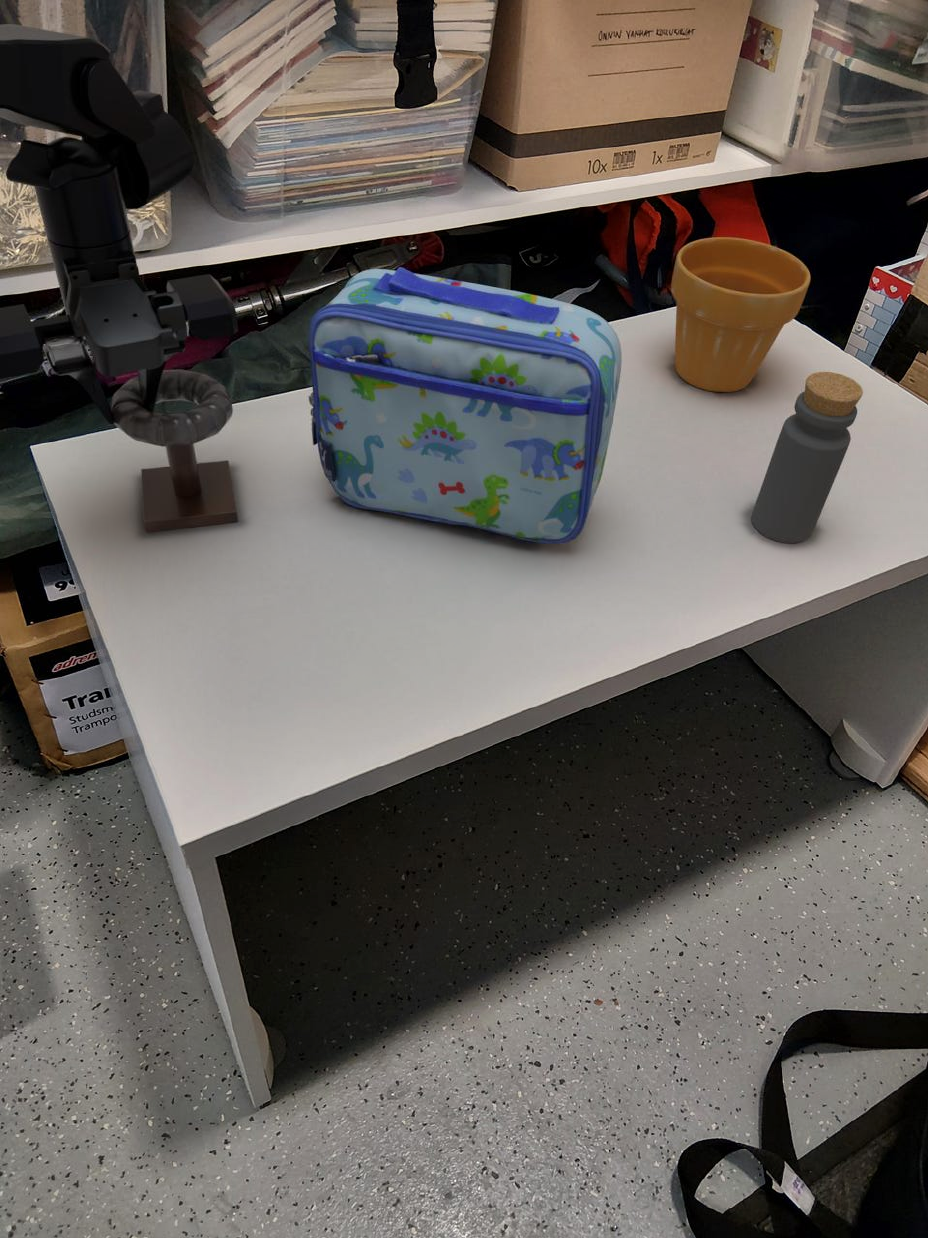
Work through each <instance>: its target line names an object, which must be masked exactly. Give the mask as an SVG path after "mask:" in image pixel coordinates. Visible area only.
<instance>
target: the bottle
mask: <svg viewBox="0 0 928 1238" xmlns="http://www.w3.org/2000/svg"><path fill="white" fill-rule="evenodd" d="M863 394H864V390H863V388H862V386H861V385H860V384H859V383H858V382H857V381H856V380H854V379H853V378H851V377H849V376H846V375H844V374H842V373H838V372H831V371H818V372H817V371H816V372H814V373H811V374H809V375H808V376H807V377H806V379H805V386H804V391H802V392H801V393H800V394H798V396H797V397H796V400H795V403H794V408H793V409H794V412H795V413H794V414H791V415H790V416H788V417H787V418H786V419H785V420H784V422H783V424H782V427H781V430H780V433H779V435H778V438H777V441H776V444H775V447H774V448H773V453H772V455H771V458H770V460H769V463H768V466H767V470H766V472H765V474H764V478H763V481H762V483H761V486H760V489H759V492H758V496H757V498H756V501H755V504H754V506H753V510H752V513H751V523H752V525H753V527H754V528H755V530H757V531H758V532H759V533H760V534H761V535H763V537H765V538H768V539H769V540H772V541H774V542H778V543H785V544H798V543H802V542H805V541H806V540H807V539H809V538H810V537H811V536H812V534H813V532H814V530H815V529H816V525H817V523H818V521H819V518H820V516H821V514H822V512H823V509H824V506H825V504H826V501H827V500H828V497H829V495H830V492H831V490H832V487H833V485H834V484H835V483H834V482H835V480H836V479H837V475H838V473H839V470H840V468H841V466H842V463H843V461H844V458H845V457H846V454H847V451H848V449H849V446H850V443H851V440H852V437H851V433H850V431H849V429H848V428H849V427H851V426H852V425H853V424H854V422H855V420H856V418H857V415H858V408H857V404H858V403H859V401H860V400H861V398H862V397H863Z"/></svg>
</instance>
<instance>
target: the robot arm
mask: <svg viewBox="0 0 928 1238" xmlns="http://www.w3.org/2000/svg"><path fill="white" fill-rule="evenodd" d="M110 57H111V52H110V50H109V48H108V47H107V46H106V45H105V44H104V43H103V42H101V41H99V40H97V39H95V38H93V37H86V36H82V35H77V34H71V33H65V32H60V31H54V30H48V29H44V28H37V27H32V26H27V25H22V24H21V25H20V24H16V23H15V24H14V23H3V24H0V118H1V119H3V120H6V121H9V122H12V123H15V124H19V125H23V126H28V127H33V128H38V129H43V130H47V131H52V132H57V133H62V134H67V135H71V136H77V137H81V139H79V138H75V137H70V136H63V137H59V138H56V139H54V140H51V141H49V142H46V143H43V142H39V141H36V140H35V141H34V140H30V139H22V140H21V142H20V146H19V150H18V152H16V155H15V156H14V157H12V159H11V160H10V162H9V163H8V166H7V168H6V171H5V176H6V179H7V180H8V181H9V182H12V183H16V184H21V185H25V186H30V187H33V188H34V192H35V196H36V199H37V200H36V201H37V203H38V206H39V207H38V208H39V212H40V215H41V219H42V220H41V221H42V222H43V226H44V231H45V236H46V239H47V243H48V248H49V251H50V255H51V260H52V263H53V267H54V270H55V275H56V279H57V282H58V286H59V290H60V295H61V299H62V303H63V306H64V310H65V314H66V315H60V316H54V317H48V318H42V319H36V320H31V317H30V315H29V313H28V311H27V308H26V306H25V304H24V303H22V304H16V305H10V306H4V307H0V380H3V379H8V378H13V377H19V376H24V375H30V374H35V373H37V372H38V370H40V368H41V367H42V365H43V364H44V362H45V358H46V359H47V362H48V364H49V366H50V369H51V371H52V373H53V374H54V375H55V376H60V377H61V376H62V377H63V376H67V375H68V376H69V377H71V378H74V379H75V380H76V382H77V383H78V384H79V385H80V386H81V387H82V388H83V389H84V390H85V392H86V393H87V394H88V395H89V397H90V399H91V400H92V402H93V403H94V405H95V406H96V407H97V409H98V411H99V412H100V413H101V415H102V416H103V418H104V420H105V421H106V422H107V424H108V425H109V426H113V425H115V423H114V420H113V415H112V407H111V406H110V403H109V401H108V399H107V396H106V394H105V391H104V389H103V386H102V383H101V381H100V379H99V376H98V373H97V371H98V372H99V374H101V375H103V376H104V377H109V378H114V377H120V376H122V375H123V374H125V373H131V372H137V377H138V380H139V388H140V394H141V398H142V402H143V406H144V408H145V409H146V410H147V411H151V412H155V407H156V404H155V403H156V398H157V393H158V389H159V383H160V379H161V376H162V373H163V370H165V367H166V364H167V362H168V361H169V360H170V359H171V358H172V357H174V356H175V355H176V354H177V355H178V354H182V353H184V352H185V350H186V343H185V341H186V340H187V338H188V331H189V333H190V334H191V335H193V336H194V337H196V338H197V339H198V340H200V341H202V342H204V341H209V340H215V339H220V338H224V337H225V338H226V337H230V336H235V334H236V333H237V332H238V331H239V324H238V317H237V310H236V307H235V304H234V301H233V299H232V298H231V297H230V296H229V294H228V293H227V292H226V290H225V289H224V288H223V287H222V285H221V283H220V282H219V281H218V280H217V279H216V278H215V277H213V276H212V275H211V274H209V273H207V274H202V275H195V276H189V277H183V278H177V279H171V280H167V284H166V291H165V292H160V293H157V291H156V290H155V289H154V290H148V288H147V286H146V284H145V283H144V281H143V279H142V277H141V275H140V271H139V267H138V263H137V258H136V253H135V248H134V244H133V238H132V233H131V227H130V222H129V218H128V213H127V210H139V209H141V208H143V207H146V205H148V204H150V203H152V202H153V201H155V200H156V199H158V198H160V197H161V196H163V195H166V193H168V192H169V191H171V190H173V189H175V188H176V187H178V186H179V185H181V184H183V183H184V182H185V181H186V180H188V179H189V177H190V176H191V174H192V172H193V169H194V163H195V160H194V159H195V157H194V156H195V155H194V149H193V145H192V144H191V142H190V140H189V138H188V136H187V134H186V133H185V131H184V129H183V128H182V126H181V125H180V123H179V122H178V121H177V120H176V119H175V118H174V117H173V116H171V114H169V113H168V112H166V111H165V107H164V100H163V96H162V95H161V93H156V92H150V91H145V90H140V89H138V90H136V91H132V90H131V89H130V87H129V86H128V85H127V83H126V81H125V80H124V78H123V77H122V76H121V74H120V72H119V71H118V70H117V69H116V67H115V66H114V65H113V62H112V61H111V58H110ZM84 341H86V344H87V346H88V349H89V351H90V354H91V356H90V354H89V352H88V351H87V347H86V346H85V345H86V344H85V342H84ZM43 352H44V353H43ZM44 355H45V357H44ZM91 357H92V358H91ZM92 359H93V360H92ZM93 361H94V362H93Z"/></svg>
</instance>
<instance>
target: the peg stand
mask: <svg viewBox="0 0 928 1238" xmlns="http://www.w3.org/2000/svg"><path fill="white" fill-rule="evenodd" d="M165 451H166V456H167V461H168V466H160V467H151V468H141V470H140V471H141V473H140V474H141V493H142V511H143V524H144V530H145V532H146V533H153V532H161V531H162V532H163V531H169V530H170V531H171V530H179V529H187V528H196V527H204V526H205V527H206V526H212V525H213V526H214V525H222V524H230V523H238V522H239V518H238V512H237V511H238V510H237V505H236V499H235V498H236V497H235V493H234V486H233V480H232V474H231V468H230V461H229V460H228V459H227V460H220V461H219V460H218V461H210V462H198V461H197V454H196V450H195V443H194V444H190V445H178V446H166V447H165Z"/></svg>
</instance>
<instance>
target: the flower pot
mask: <svg viewBox="0 0 928 1238" xmlns="http://www.w3.org/2000/svg"><path fill="white" fill-rule="evenodd" d="M810 283H811V273H810V271H809V268H808V267H807V265H805V264H804V262H803V261H802V260H800V259H799V258H798V257H796V256H794V254H792V253H790V252H788V251H786V250H784V249H781V248H779V247H776V246H774V245H771V244H769V243H764V242H761V241H757V240H752V239H746V238H740V237H728V236H727V237H726V236H725V237H723V236H720V237H706V238H700V239H697V240H694V241H691V242H688V243H687V244H685V245H684V246H682V247H681V248H680V250H678V252H677V254H676V258H675V263H674V266H673V272H672V276H671V283H670V292H671V295H672V297H673V298H674V300H675V301H676V307H675V308H676V310H675V311H676V314H675V341H674V342H675V343H674V345H675V347H674V348H675V349H674V367H675V368H674V369H675V371H676V373H677V375H678V376H679V377H681V379H682V380H684V381H685V382H687V383H688V384H689V385H692V386H694V387H696V388H698V389H702V390H705V391H710V392H723V393H731V392H737V391H740V390H743V389H745V388H747V387H748V385H749V384H750V383H751V381H752V380H753V379H754V377H755V375H756V373H757V372H758V370H759V368H761V367H760V366H761V365H762V363H763V362H764V360H765V359H766V357H767V355H768V354H769V351H770V350H771V348H772V347H773V345H774V343H775V342H776V339H777V338H778V336H779V334H780V333H781V331H782V330H783V328H784V326H785V325H787V324H788V323H790V322H791V321H793V320H794V319H795V318H796V317H797V316H798V314H799V312H800V309H801V307H802V305H803V303H804V300H805V297H806V294H807V292H808V288H809V286H810Z"/></svg>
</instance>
